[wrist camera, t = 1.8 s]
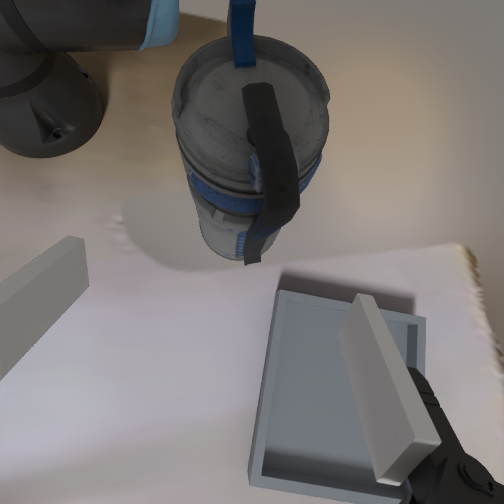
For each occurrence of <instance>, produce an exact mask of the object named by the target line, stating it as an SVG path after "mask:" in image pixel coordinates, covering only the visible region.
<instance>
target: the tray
mask: <svg viewBox="0 0 504 504" xmlns="http://www.w3.org/2000/svg"><path fill="white" fill-rule="evenodd" d="M351 305H352V303H348V302H343V301H338V300H333V299H327V298H322V297H317V296H312V295H307V294H302V293H297V292H291V291H286V290H281V289H280V290H278V291H277V292H276V295H275V301H274V307H273V314H272V320H271V326H270V333H269V339H268V345H267V351H266V358H265V364H264V370H263V377H262V383H261V389H260V395H259V402H258V408H257V414H256V421H255V427H254V433H253V440H252V446H251V452H250V458H249V465H248V471H247V472H248V478H249V485H250V486H255V487H261V488H267V489H273V490H279V491H285V492H290V493H296V494H302V495H308V496H314V497H320V498H326V499H332V500H338V501H344V502H350V503H355V504H399V503H400V501H401V500H402V499H403V498H404V497H405V496H407V495H408V494H409V493H410V492H411V491H412V489H411V486H410V483H409V480H408V477H407V478H406V480H405V481H404V482H403V483H402V484H401V485H400V486H396V485H390V484H384V483H379V482H376V478H375V474H374V470H373V466H372V462H371V458H370V455H369V451H368V447H367V443H366V439H365V435H364V431H363V428H362V424H361V420H360V416H359V412H358V408H357V405H356V401H355V397H354V393H353V389H352V385H351V381H350V378H349V374H348V370H347V366H346V362H345V358H344V354H343V351H342V347H341V343H340V339H339V335H338V333H339V331H340V328H341V326H342V324H343V322H344V320H345V318H346V316H347V314H348V311H349V309H350V307H351ZM379 310H380V312H381V314H382V317H383V319H384V321H385V323H386V325H387V327H388V329H389V331H390V334H391V336H392V338H393V340H394V342H395V344H396V346H397V348H398V350H399V353H400V355H401V357H402V359H403V361H404V363H405V365H406V366H407V367H412V368H417V370H418V371H419V372H420V373H421V374H422V375H423V376H424V377H425V344H426V318H425V317H420V316H415V315H410V314H405V313H400V312H394V311H389V310H384V309H379Z"/></svg>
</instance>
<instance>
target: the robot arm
mask: <svg viewBox="0 0 504 504" xmlns="http://www.w3.org/2000/svg"><path fill="white" fill-rule="evenodd" d="M178 28H179V0H0V144H1V145H2V146H3V147H5V148H6V149H8V150H9V151H11V152H13V153H15V154H18V155H21V156H25V157H30V158H50V157H56V156H60V155H63V154H66V153H68V152H71V151H73V150H75V149H77V148H78V147H80V146H81V145H83V144H84V143H85V142H86V141H88V140H89V139H90V138H91V137H92V135H93V134H94V133H95V132H96V130H97V128H98V127H99V124H100V122H101V119H102V115H103V101H102V98H101V95H100V93H99V91H98V89H97V87H96V85H95V83H94V82H93V80H92V78H91V77H90V75H89V74H88V73H87V72H86V71H85V70H84V69H83V68H82V67H81V66H80V65H79V64H77V62H76V61H75V60H74V59H73V58H72V57H71V56H70V55H68V54H67V53H66V52H83V51H119V50H139V51H142V50H145V49H146V48H152V47H160V46H167V45H169V44H171V43H172V42H173V41H174V40H175V38H176V36H177V33H178ZM88 287H89V277H88V269H87V260H86V251H85V242H84V239H83V238H78V237H73V236H66V237H65V238H63V239H62V240H61V241H59V242H58V243H56V244H55V245H54V246H52V247H51V248H49V249H48V250H46V251H45V252H44V253H42V254H41V255H39V256H38V257H37V258H35V259H34V260H32V261H31V262H30V263H28V264H27V265H25V266H24V267H23V268H21V269H20V270H18V271H17V272H16V273H14V274H13V275H11V276H10V277H8V278H7V279H6V280H4V281H3V282H1V283H0V380H1V379H2V378H3V377H4V376H5V375H6V374H7V373H8V372H9V371H10V370H11V369H12V368H13V367H14V366H15V364H16V363H17V362H18V361H19V360H20V359H21V358H22V357H23V356H24V355H25V354H26V353H27V352H28V351H29V350H30V349H31V347H32V346H33V345H34V344H35V343H36V342H37V341H38V340H39V339H40V338H41V337H42V336H43V335H44V334H45V333H46V331H47V330H48V329H49V328H50V327H51V326H52V325H53V324H54V323H55V322H56V321H57V320H58V319H59V318H60V317H61V315H62V314H63V313H64V312H65V311H66V310H67V309H68V308H69V307H70V306H71V305H72V304H73V303H74V302H75V301H76V300H77V298H78V297H79V296H80V295H81V294H82V293H83V292H84V291H85V290H86V289H87V288H88ZM338 335H339V339H340V343H341V347H342V351H343V354H344V358H345V362H346V366H347V370H348V374H349V378H350V381H351V385H352V389H353V393H354V397H355V401H356V405H357V408H358V412H359V416H360V420H361V424H362V428H363V431H364V435H365V439H366V443H367V447H368V451H369V455H370V458H371V462H372V466H373V470H374V474H375V478H376V482H379V483H384V484H390V485H396V486H400V485H401V484H402V483H403V482H404V481H405V480H406V478H407V477H408V480H409V483H410V486H411V489H412V491H411V492H410V493H409V494H408V495H407V496H405V497H404V498H403V499H402V500H401V501H400V503H399V504H504V485H502V484H500V483H498V482H496V481H495V480H494V478H493V477H492V476H491V474H490V473H489V472H488V470H487V469H486V468H485V467H484V466H483V465H482V464H481V463H480V462H479V461H478V460H476V459H475V458H473V457H472V456H470V455H468V454H467V453H465V451H464V450H463V448H462V446H461V444H460V442H459V440H458V438H457V436H456V434H455V433H454V431H453V429H452V427H451V425H450V423H449V421H448V419H447V417H446V415H445V413H444V412H443V410H442V408H440V404H439V402H438V400H437V398H436V397H435V396H434V392H433V390H432V389H431V387H430V385H429V383H428V381H427V380H426V379H425V377H424V376H423V375H422V374H421V373H420V372H419V371H418V370H417V368H412V367H407V366H406V365H405V363H404V361H403V359H402V357H401V355H400V353H399V350H398V348H397V346H396V344H395V342H394V340H393V338H392V336H391V334H390V331H389V329H388V327H387V325H386V323H385V321H384V319H383V317H382V314H381V312H380V310H379V308H378V306H377V304H376V302H375V300H374V298H373V296H371V295H366V294H361V293H357V294H356V297H355V299H354V301H353V303H352V305H351V307H350V309H349V311H348V314H347V316H346V318H345V320H344V322H343V324H342V326H341V328H340V331H339V333H338Z"/></svg>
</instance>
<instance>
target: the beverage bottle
mask: <svg viewBox="0 0 504 504" xmlns="http://www.w3.org/2000/svg"><path fill="white" fill-rule="evenodd" d="M255 5H256V1H255V0H230V2H229V10H228V18H227V37H224V38H221V39H218V40H215V41H212V42H210V43H208V44H207V45H205V46H203V47H201V48H200V49H198V50H197V51H196V52H195V53H194V54H192V55H191V56H190V57H189V59H188V60H187V61H186V62H185V64H184V65H183V66H182V68H181V70H180V72H179V75H178V77H177V79H176V83H175V87H174V92H173V97H172V116H173V120H174V124H175V128H176V137H177V141H178V145H179V148H180V152H181V156H182V160H183V164H184V167H185V171H186V173H187V180H188V183H189V187H190V191H191V194H192V197H193V200H194V202H195V205H196V209H197V212H198V217H199V222H200V229H201V233H202V236H203V238H204V240H205V242H206V244H207V245H208V246H209V247H210V249H211V250H213V251H214V252H215V253H217V254H218V255H220V256H222V257H224V258H226V259H230V260H236V261H244V263H245V266H246V265H248V264H252V263H257V262H261V254H263V253H264V252H265V251H267V250H268V249H269V247H270V246H271V245H272V244H273V242H274V240H275V238H276V236H277V235H278V233H279V231H280V229H281V227H282V226H284V225H285V224H286V223H288V222H289V221H290V220H291V219H292V218H293V216H294V215H295V213H296V211H297V210H298V209H299V207H300V194H301V193H302V191H303V190H304V189H305V188H306V187H307V185H308V184H309V182H310V180H311V178H312V177H313V175H314V173H315V171H316V170H317V167H318V166H319V164H320V162H321V158H322V154H321V152H322V149H323V147H324V145H325V143H326V139H327V136H328V132H329V115H328V109H327V104H328V102H329V100H330V93H329V89H328V87H327V84H326V81H325V79H324V77H323V75H322V74H321V72H320V71H319V69H318V68H317V66H316V65H315V64H314V63H313V62H312V61H311V60H310V59H309V58H308V57H307V56H306V55H304V54H303V53H302V52H300V51H299V50H297V49H296V48H294V47H292V46H290V45H288V44H286V43H284V42H282V41H279V40H276V39H273V38H270V37H265V36H258V35H253V25H254V11H255Z"/></svg>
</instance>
